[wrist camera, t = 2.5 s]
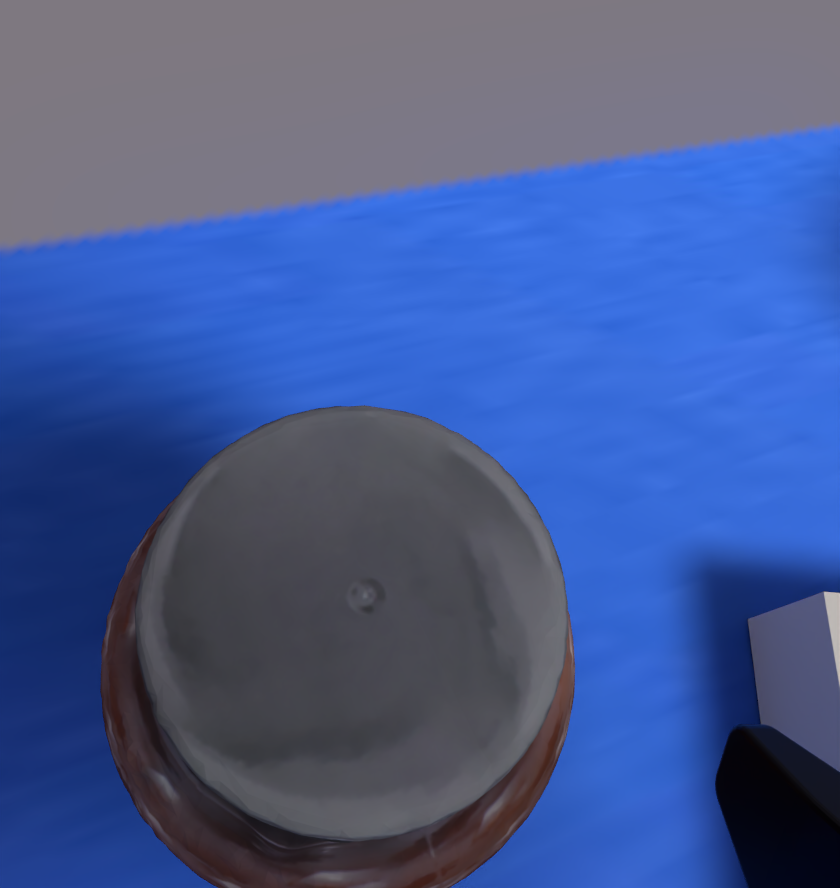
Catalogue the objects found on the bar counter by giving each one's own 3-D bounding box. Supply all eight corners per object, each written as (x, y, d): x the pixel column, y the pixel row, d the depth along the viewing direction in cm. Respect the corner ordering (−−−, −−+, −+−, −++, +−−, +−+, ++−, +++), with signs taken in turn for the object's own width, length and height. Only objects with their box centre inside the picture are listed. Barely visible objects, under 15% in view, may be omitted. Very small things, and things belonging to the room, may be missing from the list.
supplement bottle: (373, 530, 19) (460, 233, 9) (510, 748, 17) (814, 701, 7) (144, 660, 17) (-95, 475, 7) (274, 920, 15) (222, 1198, 5)
